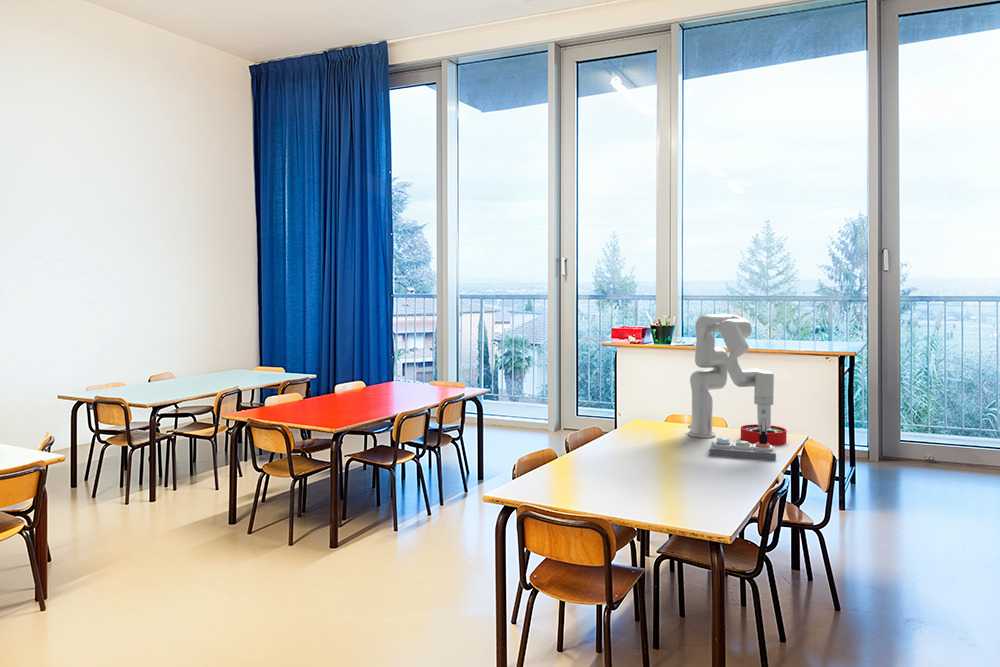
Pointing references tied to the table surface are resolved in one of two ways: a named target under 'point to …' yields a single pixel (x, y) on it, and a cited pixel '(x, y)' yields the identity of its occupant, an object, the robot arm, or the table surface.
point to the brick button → (762, 445)
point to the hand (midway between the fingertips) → (763, 443)
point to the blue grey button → (723, 441)
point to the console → (743, 451)
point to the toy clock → (773, 434)
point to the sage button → (742, 443)
